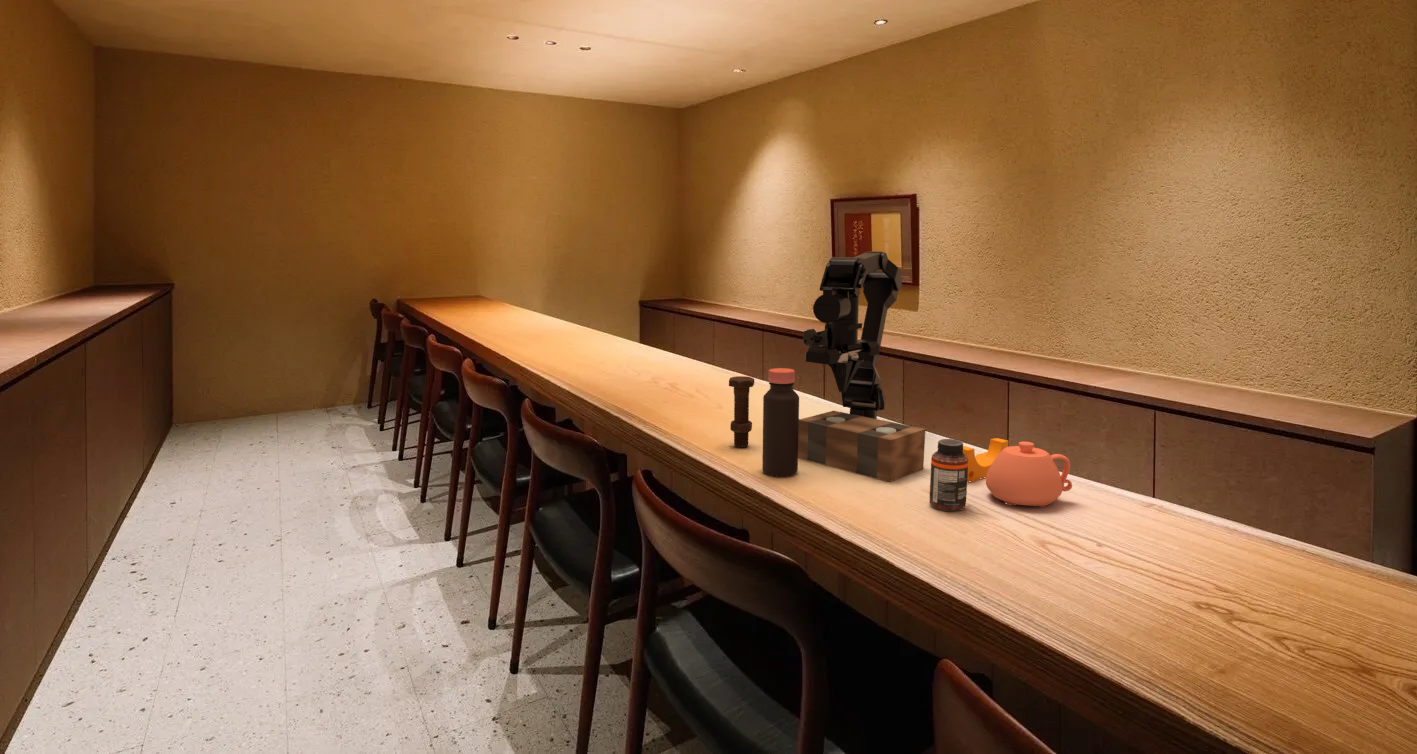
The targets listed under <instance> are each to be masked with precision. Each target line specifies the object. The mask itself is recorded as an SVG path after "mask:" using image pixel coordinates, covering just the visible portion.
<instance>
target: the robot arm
mask: <svg viewBox="0 0 1417 754" xmlns="http://www.w3.org/2000/svg"><path fill="white" fill-rule="evenodd" d="M902 282H903V281H902V275H901V272H900V269H899V267H898V266H897V265H896V264H895V263H893V262H892V261H891V260H890V259H889V257H888V255H887V252H884V251H877V250H876V251H868V250H867V251H865V252H863V253H862V254H859V255H856V256H853V257H852V256H851V257H845V256H843V257H842V256H839V257H837V256H833V257H831V258H829V260H828V262H827V263H826V266H825V269H824V272H823V276H822V279H821V282H820V285H819V291H820V292H822V295H819V296H818V297H817V298H816V299H815V301H814V303H813V306H812V310H813V315H814V317H815V318H816V319H817V320H818V321H819V322H821V323H823V324H824V330H820V331H816V330H815V329H814V328H812V329H810V328H809V329H806V330H803V337H802V339H803V340H802V341H803V344H804V345H805V346H808V348H807V349H806V350H805V352H804V353H805V354H804V361H805V362H807V363H813V364H819V365H820V364H821V365H827V366H828V367H829V368H831V369H830V370H832V373H833V377H834V379H835V383H836V386H837V389H838V392H839V393H841V400H842V402H841V403H842V408H849V414H853V415H858V416H863V417H868V418H873V419H878V412H879V411H884V410H885V406H886V396H885V393H884V390H883V387H882V379H881V377H880V374H879V371H878V369H877V366H878V362H879V356H880V352H881V351H880V350H881V346H882V345H881V344H882V341H883V335H884V331H885V325H886V320H887V314H888V310H889V308H891V307H892V306H893V304H895V302H896V301H897V299H898V295H899V292H900V291H901V289H902V286H903V283H902ZM862 288H863V289H862ZM860 289H862V293H863V296H864V298H865V301H866V303H867V306H866V311H865V315H864V316H865V317H864V321H863V323H860V322H859V306H860V295H861V290H860ZM859 329H862V331H861V336H860V339H858V336H859Z"/></svg>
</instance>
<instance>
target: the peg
mask: <svg viewBox="0 0 1417 754" xmlns="http://www.w3.org/2000/svg"><path fill="white" fill-rule="evenodd" d="M826 421H831V422H836V423H840V422H843V421H845V419H844V418H842V417H828V418H826Z"/></svg>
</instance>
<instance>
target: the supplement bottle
mask: <svg viewBox="0 0 1417 754" xmlns="http://www.w3.org/2000/svg"><path fill="white" fill-rule="evenodd" d="M963 446H964V442H963V441H962V440H959V439H953V438H942V439H939V440H938V442H937V451H935V452H934V453H933V454H932V455H931V459H930V460H931V461H930V481H929V483H930V484H929V497H928V498H929V504H930V505H929V506H931V507H933V508H934V509H937V510H940V511H944V512H956V511H961V510H963V509H965V508H966V506H967V505H966V504H967V492H968V490H967V489H968V483H967V477H968V457H967V456H966V455H965V454H964V453H963Z"/></svg>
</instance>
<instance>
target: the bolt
mask: <svg viewBox="0 0 1417 754" xmlns="http://www.w3.org/2000/svg"><path fill="white" fill-rule="evenodd" d="M754 385H755V378H754V377H751V376H745V375H744V376H743V375H741V376H738V375H737V376H732V377H729V380H728V387H731V388H732V387H733V395H734V396H733V404H734V405H733V406H734V407H733V417H734V419H733V420H732V421H731V422H730V427H729V428H730V431H731V432H733V446H734V447H735V448H747V447H749V438H750V437H749V433H750V432H751V431H752V429H753V422H752V421H751V420H749V418H750V417H749V416H750V414H749V413H750V410H749V409H750V408H749V406H750V390H751V389H750V388H753V387H754Z"/></svg>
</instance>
